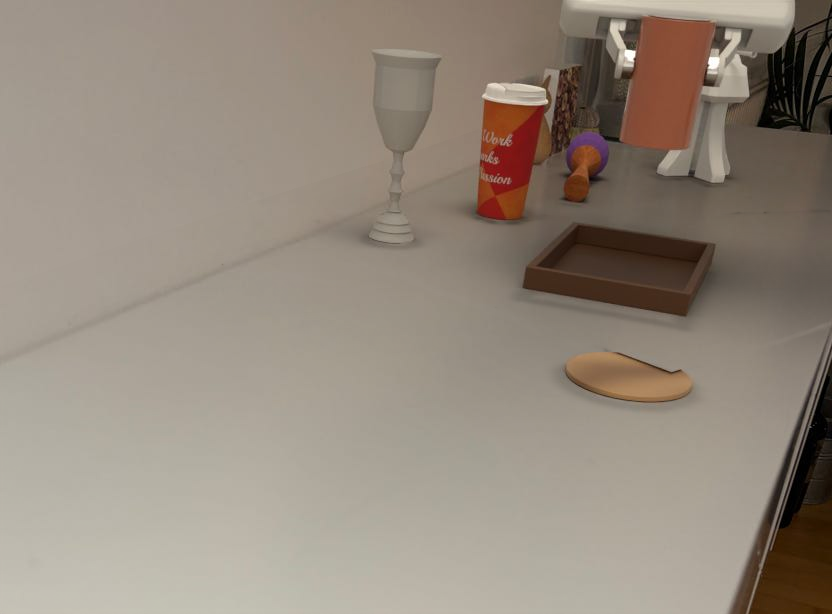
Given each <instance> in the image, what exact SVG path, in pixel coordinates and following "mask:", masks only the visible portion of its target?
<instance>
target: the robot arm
mask: <svg viewBox="0 0 832 614" xmlns="http://www.w3.org/2000/svg"><path fill="white" fill-rule="evenodd" d="M560 9H561V10H560V15H559V24H558V25H559V28H560V29H561V31H562V33H564V35H565V36H566V37H569V38H580V39H581V38H582V39H592V40H605V41H606V42H605V49H606V50H607V52H608V54H609V56H610V57H611V59H612V61H613V63H614V64H615V67H614V68H615V69H614V77H613V78H614V79H618V80H630V79H631V77H632V73H633V69H634V63H635V61H634V59H635V50H636V49H635V50H634V49H628V48H627V46H626V44H625V42H628V43H637V39H638V34H639V28H640V23H641V17H642V15H643V14H663V15H676V16H688V17H700V18H707V19H711V20H715V21H717V26H716V30H715V35H714V39H713V44H712V49H719V57H710V58H709V62H708V67H707V71H706V76H705V81H704V85H703V86H707V87H720V84H721V82H722V79H723V75H724V69H725V68H726V67H727V66H728V64H729V63H730V62H731V61H732V60H733V59H734V56H735V54H736V51H746V52H757V54H758V53H759V54H775V53H776V52H777V51H778V50H780V48H781V47H783V46H784V45H785V43H786V42H787V40H788V38H789V35H790V34H791V31H792V28H793V25H794V23H795V18H796V17H795V16H796V0H562V4H561V8H560Z"/></svg>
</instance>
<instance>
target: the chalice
mask: <svg viewBox="0 0 832 614" xmlns="http://www.w3.org/2000/svg"><path fill="white" fill-rule="evenodd" d="M370 51H371V55H372V57H373V60H374V64H375V68H374V80H373V81H374V82H373V83H374V84H373V95H372V96H373V97H372V100H373V101H372V107H373V110H374V116H375V120H376V124H377V127H378V129H379V132H380V135H381V138H382V141H383V144H384V146H385V148H386V149H388V150H389V151H391V152H392V156H393V162H392V165H391V169H390V170H389V171H388V173H389V174H390V176H391V183H390V186H389V187H388V188H387V192H388V194H389V200H390V202H389V205H388V208H387V209H386V211H385V212H381V213H380V214H379V215H378V216H377V217H376V221H375V222H374V224H373V225H372V230H371V231H370V233H368V236H369V238H370V239H372V240H375V241H377V242H378V241H379V242H381V243H390V244H405V243H410V242H413V241H415V236H414V234H413V232H412V230H413V228H412V226H411V224H410V223H411V222H410V219H409V218H408V216H407V215H406V214H404V213H402V210H401V209H400V199H401V196H402V194H403V193H405V191H404V189H403V188H402V182H401V181H402V179H403V176H404V175H405V173H406V172H405V170H404V165H403V159H404V156H405V153H407V152H410V151H412V150H413V149H414V147H415V146H416V144H417V142H418V140H419V138H420V137H421V135H422V133H423V132H424V130H425V127H426V125H427V123H428V121H429V118H430V115H431V114H432V112H433V111H432V110H433V105H434V104H433V103H434V92H435V85H436V83H435V82H436V73H437V72H436V71H437V69H438V68H437V67H438V66H439V64H440V62H441V60H442V59H443V55H441V54H438V53H433V52H427V51H420V50H411V49H396V48H375V49H371V50H370Z"/></svg>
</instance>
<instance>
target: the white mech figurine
mask: <svg viewBox="0 0 832 614" xmlns="http://www.w3.org/2000/svg"><path fill="white" fill-rule="evenodd" d="M757 55H758V52H746V51H736V54H735V56H734V59H733V60H732V61H731V62H730V63H729V64H728V66H727V67H726V68H725V69H724V75H723V79H722V82H721V84H720V87H707V86H703V90H702V94H701V99H700V103H699V108H698V113H697V117H696V122H695V126H694V131H693V135H692V140H691V145H690V148H688V149H684V150H668V151H667V152H668V153H667V154H666V155H665V156H664V158H663V159H662V161H661V162H660V163H659V164H658V166H657V169H656V174H657V175H661V176H663V177H688V176H689V177H694V178H697V179H699V180H703V181H705V182H708V183H712V184H723V183H724V182H725V178H726V176H730V172H731V164H730V162H729V159H728V154H727V150H726V139H725V138H726V137H725V136H726V135H725V126H726V120H727V112H728V108H729V103H731V104H732V103H733V104H735V103H736V104H737V103H738V104H743V103H745V101H746V100H747V99H748V98H750V87H749V79H748V66H746V65H745V64H743V63H742V60H741V56H745V57H749V58H750V59H755V58H756V57H757ZM710 57H719V49H711V53H710Z"/></svg>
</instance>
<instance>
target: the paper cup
mask: <svg viewBox="0 0 832 614" xmlns="http://www.w3.org/2000/svg"><path fill="white" fill-rule="evenodd" d="M485 87H486V88H485V92H484V93H483V94H482V96H481V98H482V99H484V102H483V112H482V113H483V114H482V125H481V126H482V129H481V140H480V141H481V142H480V154H479V155H480V156H479V168H478V169H479V170H478V186H477V202H476V206H477V207H476V212H477V214H478V215H480V216H483V217H486V218H489V219H496V220H518V219H521V218H523V214H524V209H525V205H526V201H527V197H528V191H529V187H530V182H531V176H532V172H533V167H534V162H535V158H536V151H537V146H538V141H539V138H540V132H541V128H542V122H543V117H544V112H545V107H546V105H548V104H549V100H548V99H547V90H546V88H544V87H541V86H537V85H531V84H525V83H516V82H515V83H514V82H512V83H510V82H500V83H497V82H490V83H488V84H487V85H486V86H485Z"/></svg>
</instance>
